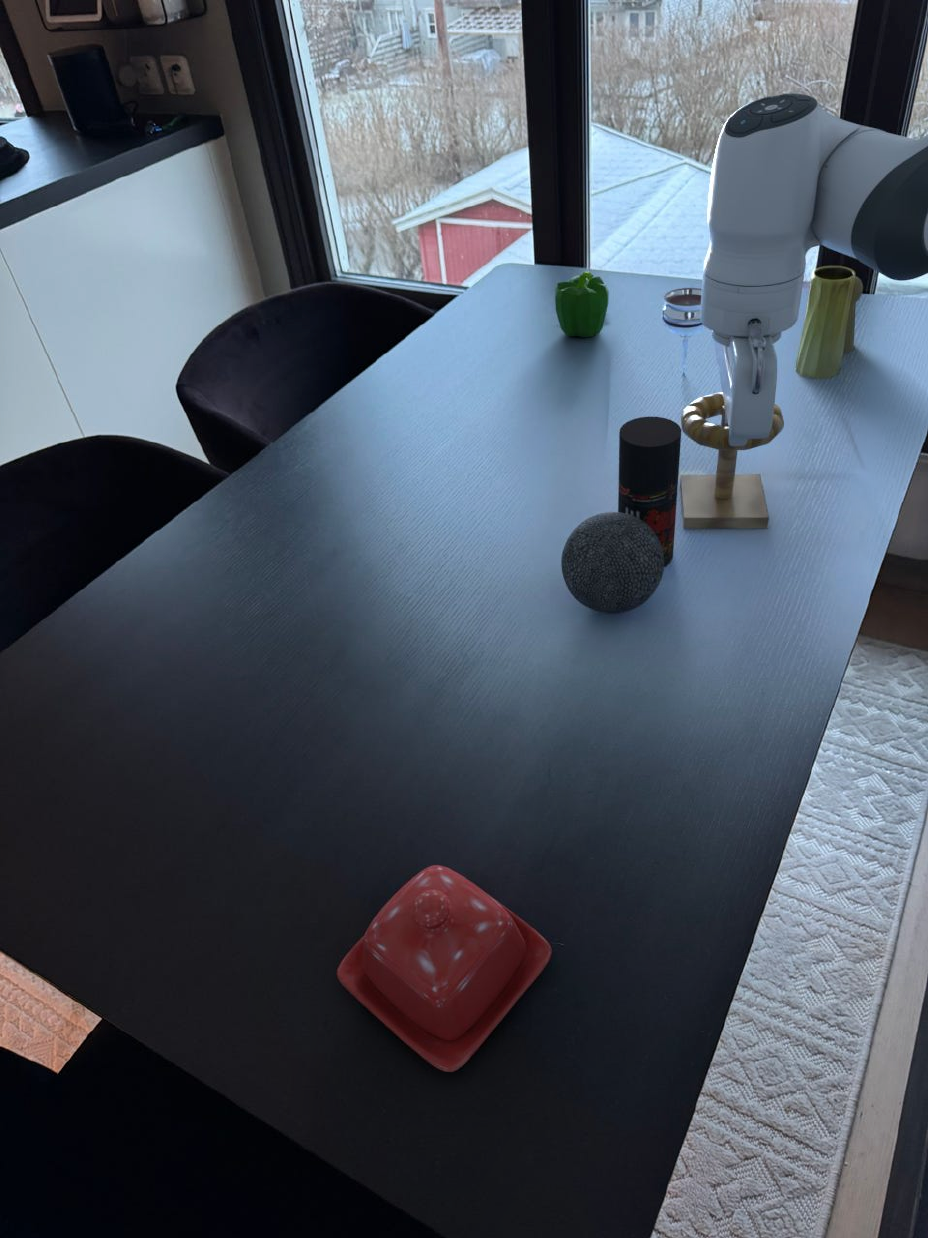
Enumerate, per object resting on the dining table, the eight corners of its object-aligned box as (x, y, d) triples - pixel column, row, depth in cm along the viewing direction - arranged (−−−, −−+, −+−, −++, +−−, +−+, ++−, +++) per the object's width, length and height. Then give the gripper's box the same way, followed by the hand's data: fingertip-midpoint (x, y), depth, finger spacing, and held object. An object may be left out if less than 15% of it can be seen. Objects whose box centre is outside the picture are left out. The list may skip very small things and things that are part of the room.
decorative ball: (651, 641, 85) (655, 558, 79) (551, 625, 88) (547, 544, 82) (670, 579, 92) (675, 498, 86) (576, 566, 95) (574, 487, 89)
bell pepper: (551, 325, 144) (549, 263, 138) (601, 318, 145) (601, 256, 138) (561, 346, 138) (559, 282, 132) (613, 339, 138) (614, 274, 132)
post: (758, 484, 104) (772, 385, 96) (767, 528, 97) (782, 426, 89) (680, 485, 105) (686, 388, 97) (683, 529, 98) (690, 428, 90)
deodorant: (611, 567, 95) (612, 443, 85) (624, 535, 99) (627, 413, 89) (667, 575, 93) (674, 449, 83) (678, 542, 97) (686, 419, 87)
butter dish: (451, 1091, 56) (435, 1030, 50) (331, 981, 62) (305, 915, 57) (561, 957, 62) (557, 889, 56) (441, 869, 68) (427, 800, 63)
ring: (776, 407, 98) (778, 387, 96) (786, 453, 90) (790, 432, 88) (679, 409, 100) (680, 389, 98) (681, 454, 92) (683, 433, 90)
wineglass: (717, 380, 124) (725, 295, 117) (682, 396, 122) (688, 310, 114) (683, 365, 129) (688, 283, 121) (648, 380, 126) (651, 297, 119)
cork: (806, 361, 126) (818, 284, 119) (810, 344, 130) (822, 268, 123) (851, 364, 124) (866, 286, 117) (854, 346, 128) (869, 269, 121)
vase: (807, 363, 126) (823, 261, 116) (848, 373, 122) (868, 269, 113) (784, 379, 123) (799, 275, 113) (825, 390, 119) (844, 284, 110)
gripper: (802, 346, 73) (780, 488, 82) (772, 260, 89) (756, 387, 98) (723, 349, 74) (710, 489, 83) (707, 263, 90) (698, 389, 99)
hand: (735, 433), depth 91 cm, fingers closed on ring, 2 cm apart
